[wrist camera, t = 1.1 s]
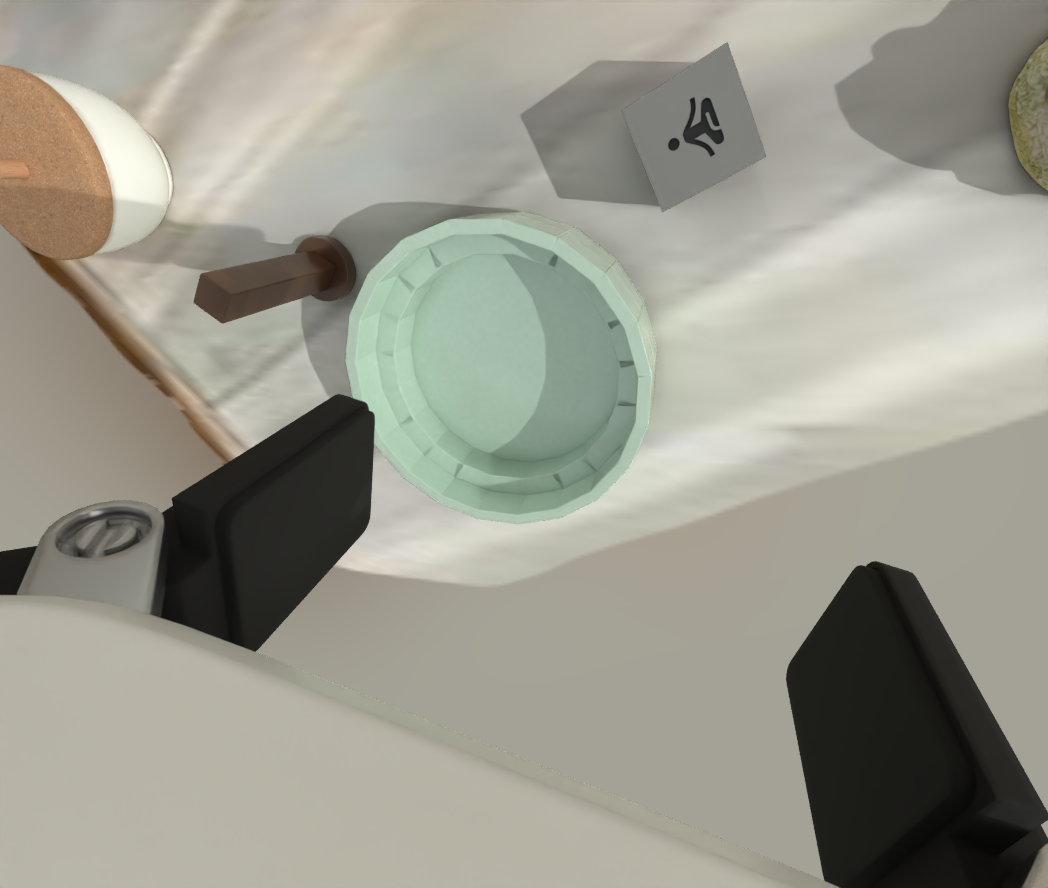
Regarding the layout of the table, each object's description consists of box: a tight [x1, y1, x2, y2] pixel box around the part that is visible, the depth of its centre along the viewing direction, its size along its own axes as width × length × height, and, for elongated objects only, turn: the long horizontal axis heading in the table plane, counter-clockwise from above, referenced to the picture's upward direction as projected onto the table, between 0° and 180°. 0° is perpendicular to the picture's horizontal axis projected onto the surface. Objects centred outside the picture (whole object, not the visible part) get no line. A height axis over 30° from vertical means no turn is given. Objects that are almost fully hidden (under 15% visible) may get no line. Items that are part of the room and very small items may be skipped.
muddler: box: [194, 236, 356, 323], centre depth 34 cm, size 4×4×11 cm
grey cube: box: [621, 42, 766, 212], centre depth 27 cm, size 5×5×5 cm
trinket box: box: [0, 65, 173, 260], centre depth 35 cm, size 11×11×9 cm
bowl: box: [345, 212, 657, 524], centre depth 35 cm, size 20×20×6 cm
